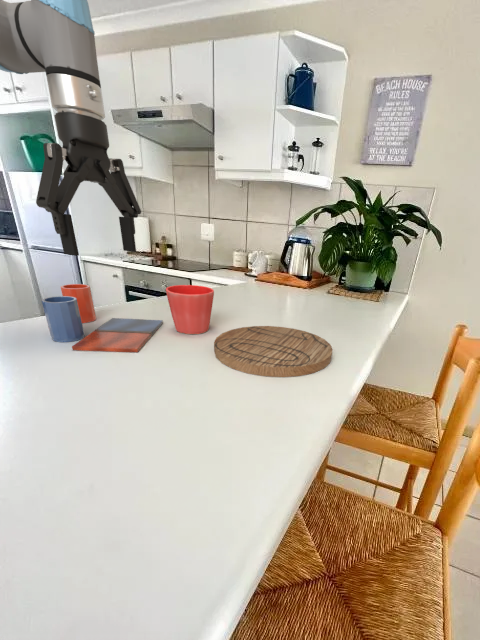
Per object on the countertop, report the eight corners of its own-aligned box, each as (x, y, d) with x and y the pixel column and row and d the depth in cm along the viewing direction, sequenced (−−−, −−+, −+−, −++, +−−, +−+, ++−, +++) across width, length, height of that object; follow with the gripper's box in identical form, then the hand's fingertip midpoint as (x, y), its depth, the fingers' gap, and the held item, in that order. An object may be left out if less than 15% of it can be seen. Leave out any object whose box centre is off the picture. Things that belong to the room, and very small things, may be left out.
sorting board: (72, 350, 62) (71, 345, 62) (112, 321, 80) (112, 317, 79) (137, 352, 63) (137, 348, 63) (162, 323, 81) (162, 319, 81)
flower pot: (224, 328, 81) (223, 289, 77) (193, 340, 72) (191, 296, 68) (191, 320, 85) (189, 282, 81) (159, 330, 76) (154, 288, 72)
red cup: (63, 322, 76) (55, 288, 72) (75, 315, 81) (68, 283, 78) (89, 323, 77) (82, 289, 73) (100, 317, 82) (94, 284, 78)
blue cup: (45, 341, 65) (34, 301, 61) (61, 332, 70) (52, 295, 66) (76, 342, 65) (67, 303, 62) (89, 333, 71) (82, 296, 67)
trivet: (247, 327, 83) (247, 320, 83) (342, 345, 76) (343, 337, 76) (189, 359, 62) (188, 350, 61) (312, 388, 55) (314, 378, 54)
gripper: (16, 87, 42) (56, 259, 52) (151, 136, 63) (162, 251, 73) (-22, 89, 44) (23, 254, 54) (121, 135, 65) (135, 248, 75)
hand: (103, 253), depth 63 cm, fingers open, 13 cm apart
